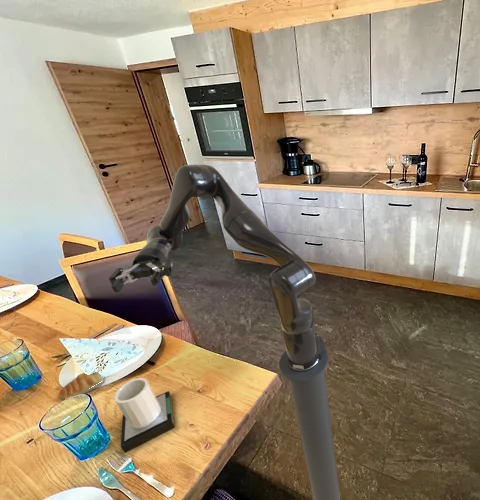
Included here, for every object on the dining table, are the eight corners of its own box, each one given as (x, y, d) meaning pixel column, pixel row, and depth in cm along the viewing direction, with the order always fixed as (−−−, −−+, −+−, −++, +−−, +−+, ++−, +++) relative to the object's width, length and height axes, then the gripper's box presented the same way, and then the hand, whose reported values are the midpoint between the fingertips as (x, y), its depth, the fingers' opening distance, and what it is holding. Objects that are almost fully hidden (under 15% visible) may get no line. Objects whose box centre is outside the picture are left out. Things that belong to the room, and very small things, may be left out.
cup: (160, 398, 73) (147, 373, 69) (161, 418, 68) (147, 392, 64) (130, 412, 70) (115, 386, 66) (129, 433, 65) (112, 408, 61)
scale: (171, 396, 77) (168, 389, 75) (175, 427, 69) (171, 420, 68) (126, 417, 72) (122, 410, 71) (124, 453, 64) (119, 445, 63)
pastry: (63, 407, 75) (56, 397, 74) (59, 393, 79) (52, 383, 78) (107, 382, 82) (101, 373, 80) (100, 371, 86) (95, 361, 84)
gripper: (120, 251, 85) (95, 279, 71) (173, 243, 88) (160, 268, 75) (130, 273, 88) (108, 304, 74) (181, 264, 92) (170, 292, 78)
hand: (134, 286), depth 74 cm, fingers open, 8 cm apart
